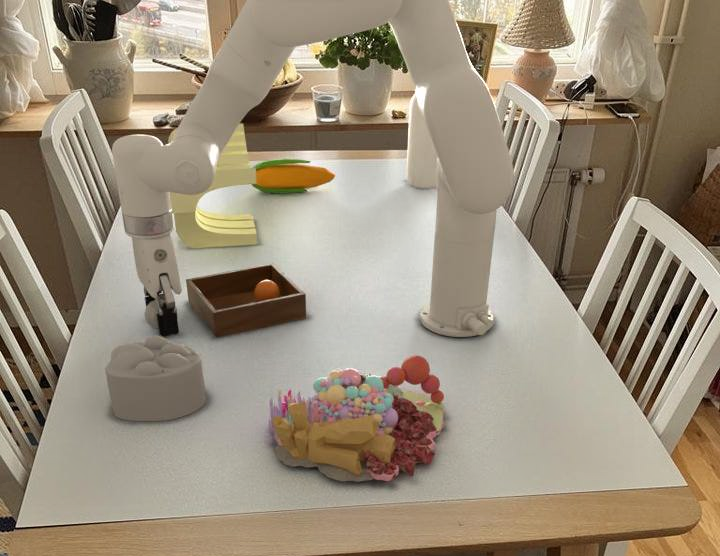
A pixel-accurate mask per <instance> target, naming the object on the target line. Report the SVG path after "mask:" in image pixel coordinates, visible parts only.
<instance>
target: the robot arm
mask: <svg viewBox="0 0 720 556" xmlns="http://www.w3.org/2000/svg"><path fill="white" fill-rule="evenodd" d="M387 23H388V25H389V27H390V29H391V30H392V33H393V36H394V37H395V40H396V43H397V45H398V49H399V51H400V54H401V56H402V58H403V60H404V63H405V66H406V68H407V72H408V75H409V77H410V80H411V84H412V86H413V90H414V94H416V98H417V104H418V108H419V111H420V113H421V115H422V117H423V119H424V122H425V124H426V126H427V129H428V131H429V134H430V136H431V139H432V142H433V144H434V147H435V150H436V153H437V155H438V159H437V187H436V208H435V209H436V211H435V226H434V228H435V229H434V240H433V254H432V270H431V285H430V301H429V303H427V304H426V305H424V306H423V307H422V309H421V310H420V313H419V320H420V322H421V324H422V326H423V327H424V328H426V329H427V330H429V331H431V332H433V333H435V334H438V335H440V336H444V337H445V336H446V337H452V338H469V337H476V336H483V335H484V334H485V333H486V332H488V331H489V330H491V328H492V327H494V325H495V321H494V320H495V316H494V313H493V312H492V310H491V309H490V308H489V306H490V305H489V304H488V294H489V293H488V292H489V283H490V276H491V267H492V256H493V249H494V248H493V247H494V238H495V231H496V223H497V210H498V209H499V208H501V207H502V206H503V205H504V204H505V203H506V202H507V201H508V199H509V197H510V195H511V193H512V191H513V188H514V183H515V169H514V165H513V161H512V157H511V154H510V150H509V147H508V144H507V140H506V136H505V134H504V131H503V128H502V123H501V121H500V117H499V115H498V111H497V108H496V105H495V102H494V99H493V97H492V94H491V91H490V90H489V87H488V86H487V84H486V82H485V80H484V79H483V78H482V77H481V75H480V74H479V72H477V70H476V69H475V68H474V66H473V64H472V62H471V59H470V57H469V55H468V52H467V50H466V49H467V48H466V46H465V42H464V39H463V37H462V33H461V31H460V28H459V26H458V23H457V20H456V17H455V14H454V12H453V10H452V6H451V3H450V1H449V0H246V1H245V2H244V5H243V6H242V8H241V10H240V12H239V13H238V16H237V17H236V19H235V20H234V23H233V24H232V26H231V28H230V30H229V31H228V34H226V37H225V39H224V40H223V42H222V43H221V46H220V48H219V49H218V51H217V53H216V54H215V57H214V58H213V60H212V62H211V64H210V66H209V68H208V70H207V72H206V73H207V74H206V76H205V79H204V80H203V82H202V84H201V86H200V87H199V89H198V91H197V93H196V95H195V96H194V98H193V99H192V101H191V103H190V105H189V107H188V109H187V110H186V112H185V114H184V116H183V118H182V119H181V121H180V123H179V124H178V127H176V128H177V130H176V132H175V134H174V136H173V138H172V140H171V142H170V143H169V144H168V143H167V144H163V143H162V141H161V140H160V139H159V138H157V137H156V136H153V135H149V134H130V135H129V134H128V135H124V136H122V137H119V138H117V139H116V140H115V141H114V142H113V144H112V146H111V153H112V161H113V166H114V173H115V178H116V184H117V185H116V186H117V191H118V192H117V193H118V198H119V203H120V210H121V216H122V221H123V222H122V223H123V228H124V233H125V235H126V236H128V237H130V238H131V242H132V250H133V259H134V264H135V269H136V274H137V278H138V279H139V281H140V283H141V284H142V286H143V293H144V302H145V308H146V307H147V305H148V304H149V303H150V302H152V301H154V300H155V301H156V305H157V309H158V314H156V315H157V321H158V328H159V329H158V334H159V336H161V337H163V338H165V337H168V336H169V337H170V336H173V335H178V334H179V333H180V328H179V327H180V326H179V318H178V319H177V314H178V311H177V312H176V308H177V306H176V300H175V299H176V298H175V296H174V294H175V295H181V294H182V291H183V289H182V283H181V277H180V270H179V265H178V259H177V255H176V250H175V246H174V242H173V239H172V235H171V233H173V232H174V231H175V227H174V226H175V224H174V216H173V213H172V209H171V202H170V194H169V192H173V193H179V194H186V195H195V194H200V193H202V192H204V191H206V190H207V189H208V188H209V187H210V186H211V185H212V183H213V181H214V178H215V174H216V168H217V162H218V159H219V157H220V155H221V153H222V152H223V150H224V148H225V146H226V145H227V143H228V141H229V140H230V138H231V136H232V134H233V133H234V131H235V130H236V128H237V126H238V125H239V124H241V122H242V121H243V119H244V118H245V116H247V115H248V113H249V112H250V110H252V109H253V108H256V107H257V106H259V105H260V104H261V103H262V102H263V100H264V99H265V98H266V97H267V95H268V94H269V92H270V91H271V89H272V88H273V85H274V84H275V82H276V80H277V79H278V77H279V75H280V73H281V72H282V70H283V69H284V67H285V65H286V63H287V62H288V60H289V59H290V57H291V55H292V54H293V52H294V50H295V49H296V48H297V47H302V46H307V45H312V44H316V43H322V42H325V41H329V40H333V39H337V38H342V37H346V36H350V35H354V34H358V33H361V32H366V31H370V30H374V29H376V28H379V27H381V26H384V25H385V24H387ZM160 299H164V300H165V303H163V304H162V306H161V302H160Z"/></svg>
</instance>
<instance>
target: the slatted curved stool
mask: <svg viewBox="0 0 720 556" xmlns="http://www.w3.org/2000/svg"><path fill="white" fill-rule="evenodd" d="M177 128H178V127H176V128H174V129H173V130H172V131H171V133H170V135H169V136H168V141H167V144H169V143H170V142H171V140H172V138H173V136H174V134H175V132H176V130H177ZM251 184H257V181H256V168H253V167H251V165H250V159H249V154H248V148H247V140H246V135H245V127H244V123H239V125H238V126H237V128H236V130H235V131H234V133H233V134H232V136H231V138H230V140H229V141H228V143H227V145H226V146H225V148H224V150H223V152H222V153H221V155H220V157H219V159H218V162H217V168H216V174H215V178H214V181H213V183H212V185H211V186H210V187H209V188H208V189H207V190H206V191H204V192H202V193H200V194H195V195H186V194H179V193H173V192H169V194H170V202H171V209H172V214H173V221H174V226H175V227H174V229H175V232H176V235H177V237H178V238H179V240H180V241H181V242H182V243H183V244H184V245H185V246H187V247H189V248H192V249H204V248H205V249H207V248H220V247H222V248H223V247H239V246H253V245H254V246H255V245H258V243H259V242H258V233H257V229H256V224H255V220H254V216H253V214H252V213H249V214H248V213H247V214H219V213H211V212H207V211H205V210H202V209H201V208H199V207H198V204H199V201H200V200H201V198H203V197H204V196H205V195H206V194H207V193H210V192H213V191H215V190H219V189H222V188H228V187H229V188H230V187H236V186H246V185H251Z"/></svg>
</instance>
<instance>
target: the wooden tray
mask: <svg viewBox="0 0 720 556" xmlns="http://www.w3.org/2000/svg"><path fill="white" fill-rule="evenodd" d="M264 280H270V281H273V282H274V283H276V285H277V286H278V288H279V290H280V296H279V298H274V299H270V300H265V301H260V302H258V301H257V300H256V298H255V288H256V286H257V284H258V283H260V282H261V281H264ZM185 283H186V292H187V300H188V304H189V305H190V307H191V308H192V309H193V311H194V312H195V313H196V314H197V316H198V317H199V318H200V319H201V321H202V322H203V323H204V324H205V326H206V327H207V328H208V329H209V331H210V332H211V333H212V334H213V336H214V337H215V338H220V337H225V336H229V335H230V336H231V335H235V334H239V333H244V332H248V331H249V332H250V331H253V330H258V329H262V328H267V327H272V326H275V325H281V324H285V323H290V322H295V321H299V320H305V319H307V298H306V297H307V295H306V293H305V292H304V291H303V290H302V289H301V288H300V287H299V286H298V285H296V283H294V281H293V280H292V279H290V278H289V276H287V275H286V274H285V273H284V272H283V271H282V270H281V269H280V268H279V267H278V266H276V264H275V263H274V262H271V263H266V264H260V265H256V266H250V267H245V268H240V269H235V270H229V271H224V272H218V273H214V274H213V273H211V274H207V275H202V276H197V277H191V278H186V279H185Z"/></svg>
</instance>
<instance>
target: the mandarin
mask: <svg viewBox="0 0 720 556" xmlns="http://www.w3.org/2000/svg"><path fill="white" fill-rule="evenodd" d="M279 296H280V290H279V288H278V286H277V285H276V283H274V282H273V281H270V280H264V281H261V282H260V283H258V284H257V286H256V288H255V298H256V300H257V301H258V302H260V301H265V300H270V299H274V298H279Z"/></svg>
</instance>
